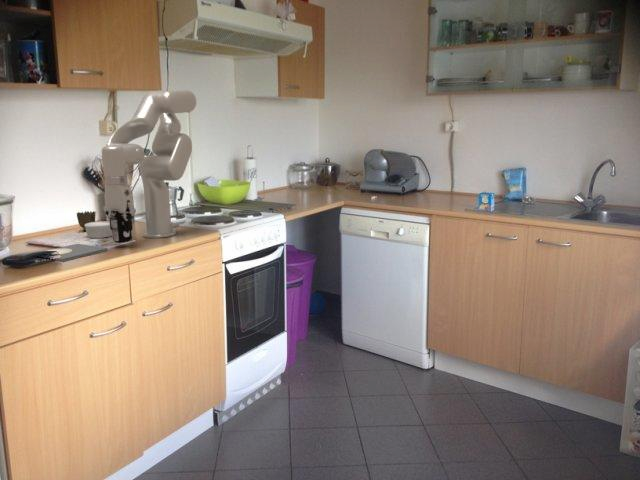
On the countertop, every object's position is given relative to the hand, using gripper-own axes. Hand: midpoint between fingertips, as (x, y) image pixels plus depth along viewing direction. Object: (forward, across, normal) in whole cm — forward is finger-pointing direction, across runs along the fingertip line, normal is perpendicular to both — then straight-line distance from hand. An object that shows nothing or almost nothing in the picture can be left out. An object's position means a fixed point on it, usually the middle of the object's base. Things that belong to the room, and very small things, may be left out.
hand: (121, 229), depth 205 cm
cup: (+7, +38, -15) cm, 41 cm away
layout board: (+6, +8, +16) cm, 19 cm away
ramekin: (+7, +24, -10) cm, 27 cm away
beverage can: (+4, 0, 0) cm, 4 cm away
